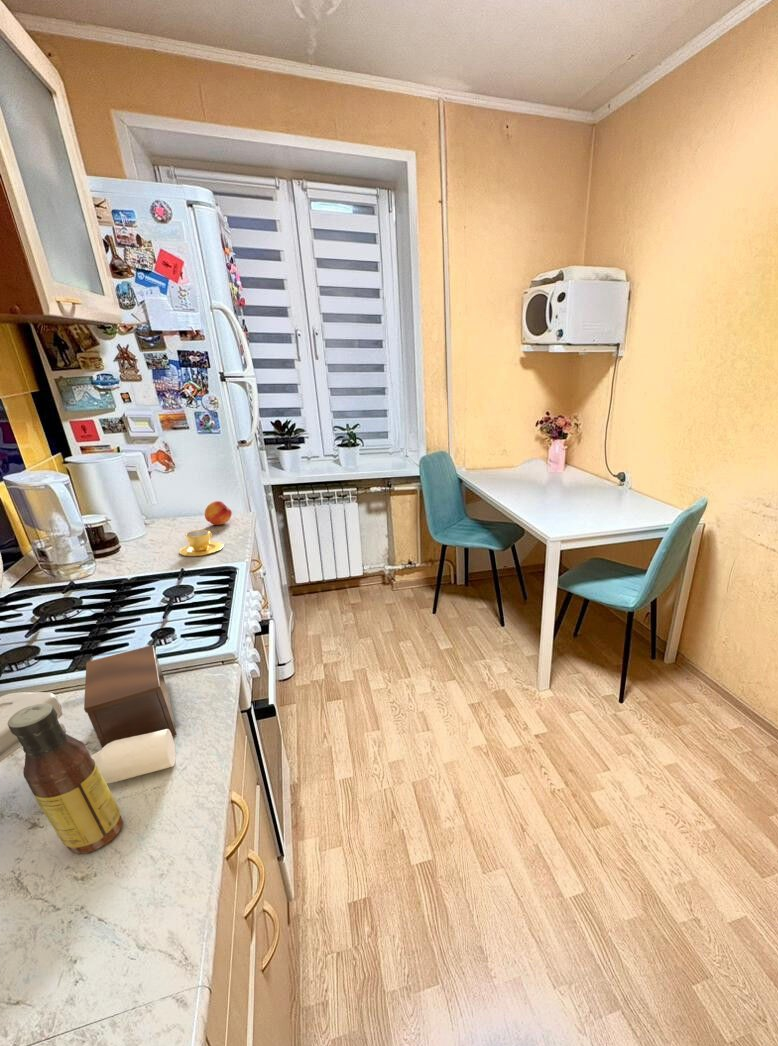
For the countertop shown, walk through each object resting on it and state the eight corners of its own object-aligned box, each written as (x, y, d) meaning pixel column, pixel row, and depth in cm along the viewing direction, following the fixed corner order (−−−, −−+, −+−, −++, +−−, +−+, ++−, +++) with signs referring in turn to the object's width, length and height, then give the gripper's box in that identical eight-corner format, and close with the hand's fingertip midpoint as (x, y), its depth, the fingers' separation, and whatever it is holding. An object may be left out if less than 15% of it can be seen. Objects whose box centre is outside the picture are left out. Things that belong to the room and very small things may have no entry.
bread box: (176, 735, 82) (161, 688, 78) (106, 759, 77) (85, 710, 73) (168, 692, 92) (154, 649, 88) (106, 711, 88) (88, 666, 84)
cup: (204, 559, 150) (199, 541, 147) (170, 555, 153) (165, 538, 150) (232, 545, 160) (228, 528, 158) (199, 541, 163) (195, 525, 161)
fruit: (229, 527, 176) (224, 504, 172) (204, 528, 175) (198, 505, 171) (235, 520, 183) (230, 498, 179) (211, 521, 182) (206, 499, 178)
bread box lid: (161, 690, 77) (160, 686, 77) (85, 713, 73) (83, 708, 72) (154, 648, 88) (153, 644, 88) (87, 666, 83) (86, 661, 83)
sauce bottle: (109, 807, 69) (55, 687, 61) (135, 827, 66) (82, 704, 58) (53, 844, 64) (-14, 718, 56) (78, 868, 61) (11, 738, 53)
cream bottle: (84, 772, 75) (70, 742, 73) (177, 748, 79) (167, 719, 77) (74, 802, 70) (59, 771, 68) (174, 774, 75) (163, 745, 72)
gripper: (17, 713, 74) (103, 722, 72) (-163, 835, 55) (-53, 851, 54) (-2, 676, 71) (88, 685, 69) (-197, 792, 53) (-82, 808, 51)
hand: (25, 758), depth 61 cm, fingers open, 8 cm apart
